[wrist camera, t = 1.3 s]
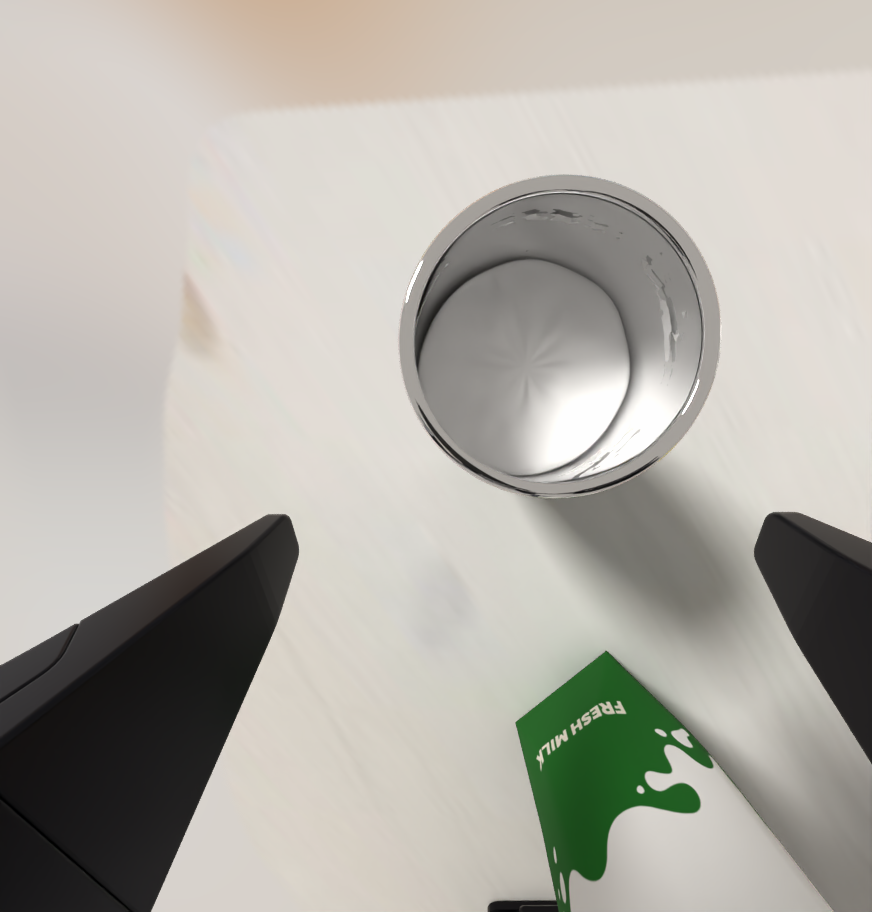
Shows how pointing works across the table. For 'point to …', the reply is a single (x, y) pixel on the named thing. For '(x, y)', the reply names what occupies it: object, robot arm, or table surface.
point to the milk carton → (646, 809)
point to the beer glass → (559, 336)
